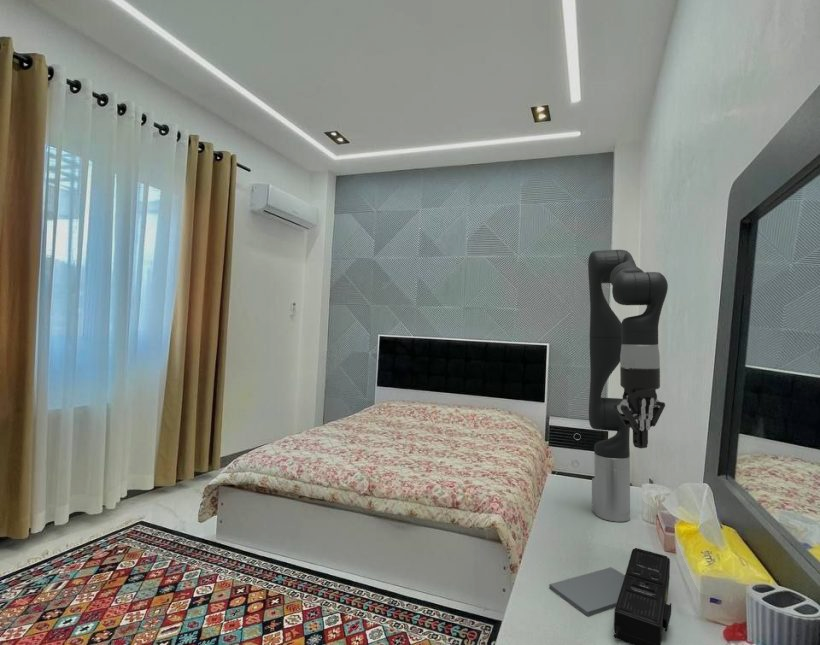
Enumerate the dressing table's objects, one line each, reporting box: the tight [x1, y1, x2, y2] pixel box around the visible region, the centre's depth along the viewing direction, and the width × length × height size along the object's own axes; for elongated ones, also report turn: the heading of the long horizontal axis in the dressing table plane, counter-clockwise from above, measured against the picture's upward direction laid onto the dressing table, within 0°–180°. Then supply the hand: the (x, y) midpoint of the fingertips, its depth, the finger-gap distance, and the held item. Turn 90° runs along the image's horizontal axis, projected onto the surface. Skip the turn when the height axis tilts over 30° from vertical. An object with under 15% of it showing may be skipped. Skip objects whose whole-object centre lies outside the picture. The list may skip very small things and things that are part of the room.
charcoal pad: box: [548, 566, 625, 617], centre depth 89 cm, size 10×17×1 cm, turn 114°
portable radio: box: [613, 547, 672, 645], centre depth 82 cm, size 8×6×25 cm
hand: (640, 447), depth 95 cm, fingers closed
